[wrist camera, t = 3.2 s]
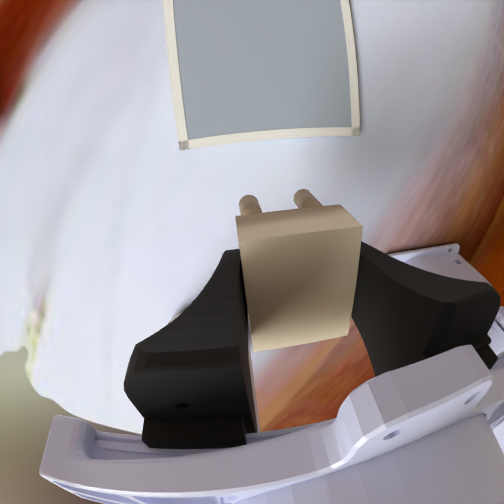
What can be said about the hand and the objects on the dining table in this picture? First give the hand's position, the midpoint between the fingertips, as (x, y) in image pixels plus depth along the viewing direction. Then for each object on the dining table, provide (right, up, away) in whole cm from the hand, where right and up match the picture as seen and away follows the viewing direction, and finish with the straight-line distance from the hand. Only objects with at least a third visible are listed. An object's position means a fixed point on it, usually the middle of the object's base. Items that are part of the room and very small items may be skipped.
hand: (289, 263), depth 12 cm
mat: (-1, +13, +3) cm, 13 cm away
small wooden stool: (0, +1, +2) cm, 3 cm away
